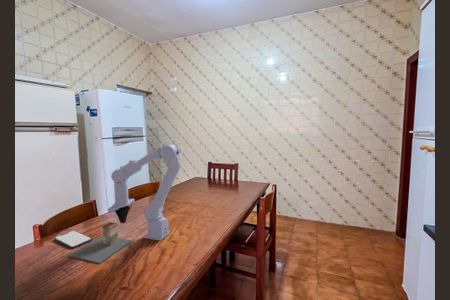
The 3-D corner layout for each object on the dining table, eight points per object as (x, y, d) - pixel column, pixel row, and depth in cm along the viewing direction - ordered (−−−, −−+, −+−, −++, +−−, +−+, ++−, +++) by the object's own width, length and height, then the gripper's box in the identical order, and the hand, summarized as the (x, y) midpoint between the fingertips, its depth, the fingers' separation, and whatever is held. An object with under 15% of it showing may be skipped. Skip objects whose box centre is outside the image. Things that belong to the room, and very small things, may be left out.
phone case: (93, 241, 98) (74, 233, 106) (93, 238, 98) (74, 229, 106) (72, 251, 91) (52, 241, 98) (71, 247, 90) (52, 237, 98)
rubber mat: (132, 241, 97) (132, 240, 97) (100, 263, 81) (100, 262, 81) (104, 236, 102) (104, 235, 102) (68, 256, 86) (68, 255, 86)
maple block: (118, 240, 97) (117, 223, 96) (110, 245, 93) (109, 227, 92) (110, 239, 98) (109, 222, 97) (103, 243, 94) (102, 226, 94)
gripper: (125, 189, 109) (127, 215, 110) (101, 198, 95) (103, 227, 96) (137, 190, 107) (138, 217, 108) (114, 199, 93) (116, 230, 94)
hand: (122, 222), depth 102 cm, fingers closed
